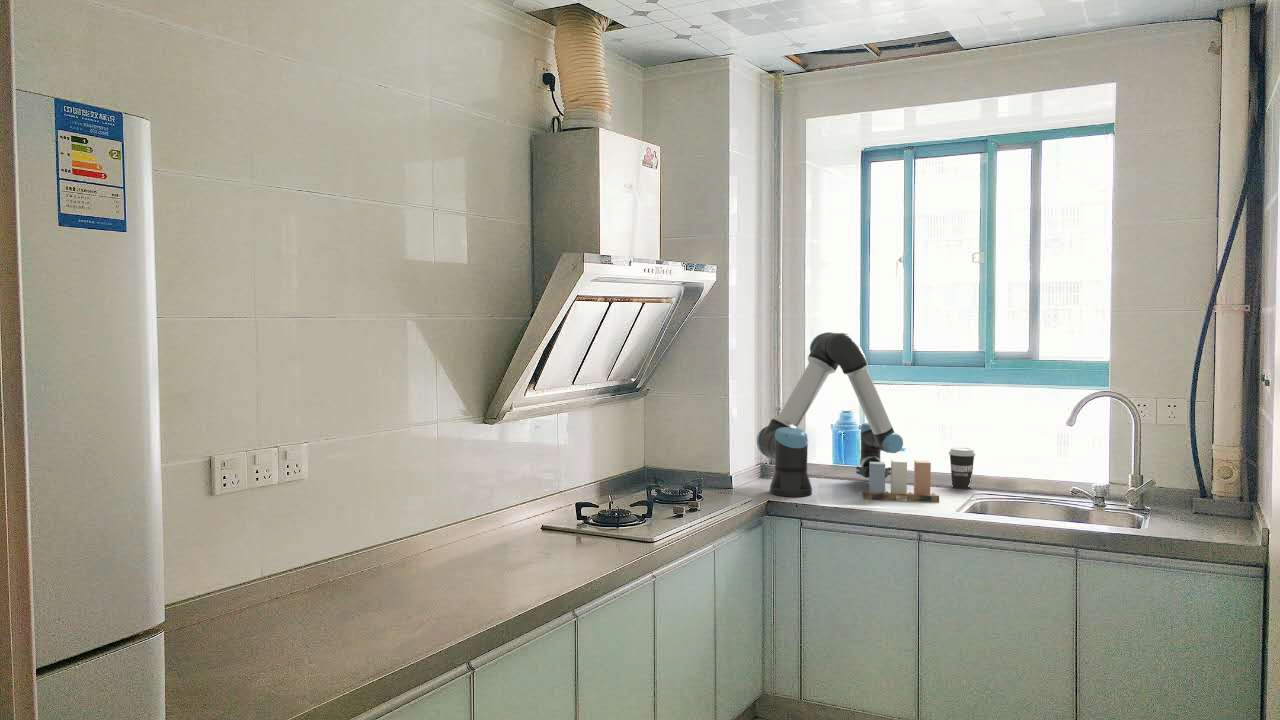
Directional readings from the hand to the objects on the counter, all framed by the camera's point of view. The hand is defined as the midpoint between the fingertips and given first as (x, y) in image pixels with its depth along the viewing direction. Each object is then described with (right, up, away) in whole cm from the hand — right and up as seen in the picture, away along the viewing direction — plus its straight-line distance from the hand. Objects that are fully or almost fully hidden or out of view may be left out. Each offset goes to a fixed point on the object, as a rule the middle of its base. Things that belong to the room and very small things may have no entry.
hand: (877, 478), depth 320 cm
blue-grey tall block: (-1, -7, -2) cm, 7 cm away
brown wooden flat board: (+8, -7, 0) cm, 11 cm away
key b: (+8, -6, +2) cm, 11 cm away
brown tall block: (+16, -6, +1) cm, 17 cm away
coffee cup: (+37, -7, +20) cm, 42 cm away
